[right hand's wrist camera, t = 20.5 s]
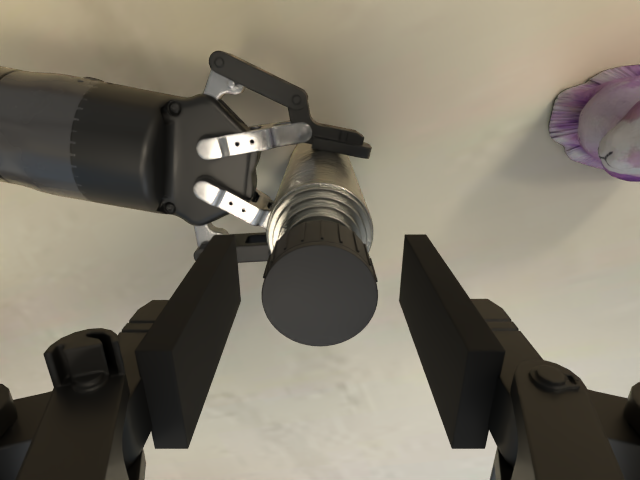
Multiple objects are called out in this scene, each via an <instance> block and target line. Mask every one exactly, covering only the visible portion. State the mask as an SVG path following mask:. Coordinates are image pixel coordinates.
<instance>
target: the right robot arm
mask: <svg viewBox="0 0 640 480" xmlns="http://www.w3.org/2000/svg"><path fill="white" fill-rule="evenodd" d="M240 302H241V297H240V285H239V274H238V262H237V250H236V239H235V235H213V237H212V238H211V240H210V241H209V243H208V244H207V246H206V247H205V248H204V250H203V251H202V253H201V254H200V256H199V257H198V259H197V260H196V262H195V263H194V264H193V266H192V267H191V269H190V270H189V272H188V273H187V275H186V276H185V278H184V279H183V281H182V282H181V283H180V285H179V286H178V288H177V289H176V291H175V292H174V294H173V295H172V297H171V298H170V300H152V301H151V302H149V303H148V304H146V305H144V306H143V307H141V308H140V309H138V310H137V312H136V313H135V314H134V315H133V317H132V318H131V319H130V320H129V323H127V324H126V325H125V327H124V328H123V329H122V332H120V333H119V334H118V336H117V334H116V333H114V332H113V331H112V330H108V329H103V328H97V329H87V330H83V331H79V332H75V333H72V334H70V335H68V336H65V337H63V338H61V339H59V340H58V341H56V342H55V343H53V344H52V345H51V346H50V347H49V348H48V349H47V350H46V351H45V353H44V357H45V360H46V364H47V367H48V370H49V373H50V376H51V379H52V382H53V386H54V389H53V391H51V392H47V393H43V394H39V395H34V396H29V397H25V398H20V399H15V400H13V399H12V396H11V394H10V391H9V389H8V388H7V387H6V386H4V385H3V384H0V480H144V478H145V467H146V461H145V455H144V451H143V447H144V445H145V443H146V440H147V438H148V436H149V434H150V432H152V436H153V441H154V446H155V449H188V447H189V445H190V442H191V439H192V436H193V433H194V431H195V428H196V425H197V422H198V419H199V417H200V414H201V411H202V408H203V405H204V403H205V400H206V397H207V394H208V391H209V389H210V386H211V383H212V380H213V377H214V375H215V372H216V369H217V366H218V363H219V361H220V358H221V355H222V352H223V349H224V347H225V344H226V341H227V338H228V336H229V333H230V330H231V327H232V324H233V322H234V319H235V316H236V313H237V310H238V308H239V305H240ZM399 302H400V305H401V308H402V310H403V313H404V316H405V319H406V322H407V324H408V327H409V330H410V333H411V336H412V338H413V341H414V344H415V347H416V349H417V352H418V355H419V358H420V361H421V363H422V366H423V369H424V372H425V375H426V377H427V380H428V383H429V386H430V389H431V391H432V394H433V397H434V400H435V403H436V405H437V408H438V411H439V414H440V417H441V419H442V422H443V425H444V428H445V431H446V433H447V436H448V439H449V442H450V445H451V447H452V449H485V446H486V441H487V436H488V432H489V430H490V432H491V434H492V436H493V438H494V441H495V443H496V445H497V451H496V455H495V459H494V464H493V468H492V472H491V477H490V480H640V382H638V383H637V384H635V385H634V386H633V387H632V388H631V391H630V394H629V396H628V398H623V397H619V396H614V395H609V394H605V393H600V392H595V391H592V390H588V389H587V388H586V386H585V385H584V383H583V382H582V381H581V379H580V378H579V377H578V376H576V375H575V374H574V373H573V372H571V371H570V370H568V369H566V368H564V367H562V366H560V365H558V364H556V363H552V362H548V361H545V360H543V359H542V358H541V356H540V355H539V354H538V353H537V351H536V350H535V349H534V348H533V346H532V345H531V344H530V343H529V341H528V340H527V339H526V338H525V336H524V335H523V334H522V333H521V331H519V330H518V328H517V326H516V325H515V324H514V323H513V322H511V319H510V317H509V316H508V315H507V314H506V312H505V311H504V310H503V309H502V308H501V307H499V306H498V305H496V304H495V303H493V302H492V301H490V300H488V299H470V298H469V297H468V295H467V294H466V292H465V291H464V289H463V288H462V286H461V285H460V283H459V282H458V281H457V279H456V278H455V276H454V275H453V273H452V272H451V270H450V269H449V267H448V266H447V264H446V263H445V262H444V260H443V259H442V257H441V256H440V254H439V253H438V251H437V250H436V248H435V247H434V246H433V244H432V243H431V241H430V240H429V238H428V237H427V235H405V238H404V250H403V262H402V274H401V285H400V297H399Z"/></svg>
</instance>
